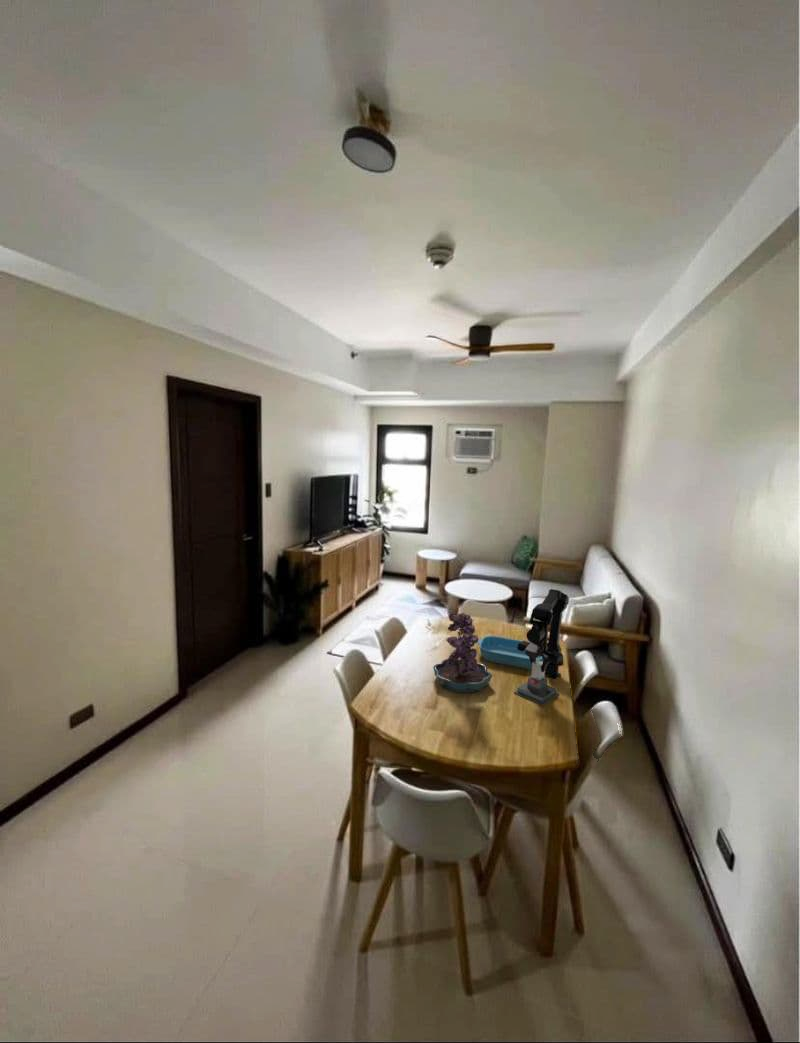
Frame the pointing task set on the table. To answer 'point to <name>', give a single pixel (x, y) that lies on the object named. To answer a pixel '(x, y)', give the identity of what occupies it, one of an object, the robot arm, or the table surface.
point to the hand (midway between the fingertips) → (538, 670)
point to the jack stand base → (537, 691)
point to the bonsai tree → (462, 659)
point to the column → (537, 671)
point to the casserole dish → (504, 651)
